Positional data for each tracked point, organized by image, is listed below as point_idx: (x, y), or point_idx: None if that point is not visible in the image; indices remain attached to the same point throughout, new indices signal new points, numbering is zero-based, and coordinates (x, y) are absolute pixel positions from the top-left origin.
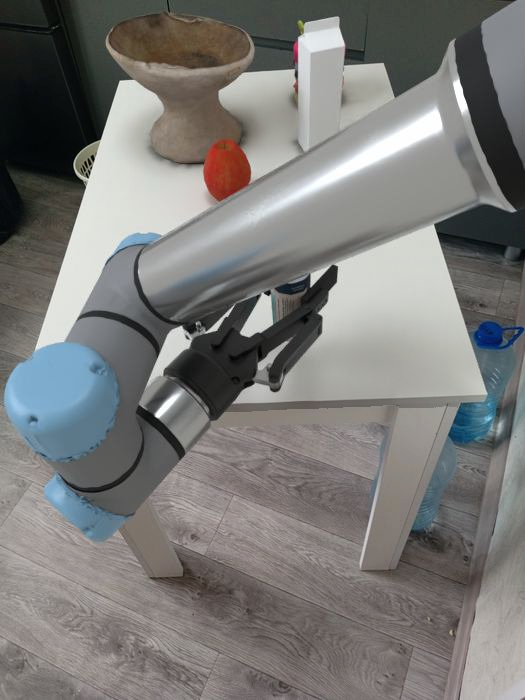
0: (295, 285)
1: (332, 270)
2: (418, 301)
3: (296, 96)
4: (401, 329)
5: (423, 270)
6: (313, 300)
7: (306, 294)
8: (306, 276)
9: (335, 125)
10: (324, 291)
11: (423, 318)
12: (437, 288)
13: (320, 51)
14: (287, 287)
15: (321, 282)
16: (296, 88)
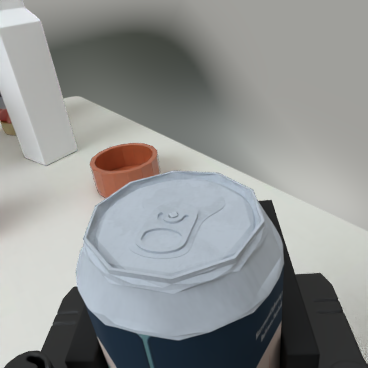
0: (266, 310)
1: (271, 213)
2: (318, 245)
3: (5, 126)
4: (349, 297)
5: (278, 208)
6: (320, 334)
7: (289, 326)
8: (280, 243)
9: (64, 119)
10: (311, 281)
11: (352, 263)
12: (318, 218)
13: (11, 27)
14: (235, 343)
15: (284, 257)
16: (1, 118)
